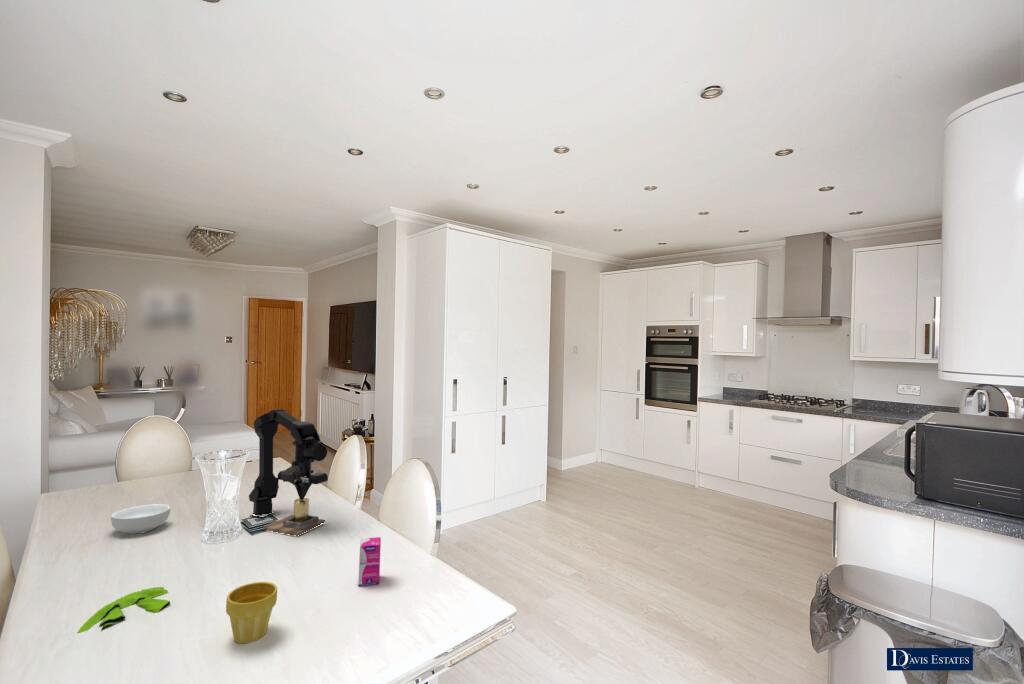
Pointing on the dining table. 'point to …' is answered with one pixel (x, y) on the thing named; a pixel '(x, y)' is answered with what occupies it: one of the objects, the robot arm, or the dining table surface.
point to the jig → (293, 525)
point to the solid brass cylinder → (301, 510)
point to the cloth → (126, 601)
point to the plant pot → (251, 610)
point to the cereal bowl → (140, 518)
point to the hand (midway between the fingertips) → (301, 499)
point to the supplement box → (369, 561)
